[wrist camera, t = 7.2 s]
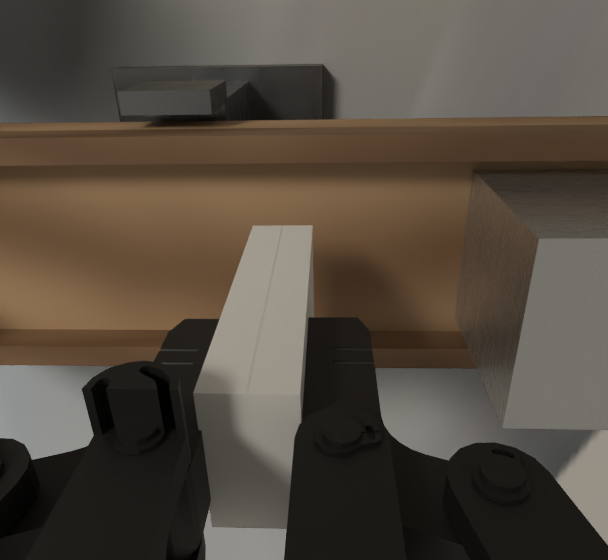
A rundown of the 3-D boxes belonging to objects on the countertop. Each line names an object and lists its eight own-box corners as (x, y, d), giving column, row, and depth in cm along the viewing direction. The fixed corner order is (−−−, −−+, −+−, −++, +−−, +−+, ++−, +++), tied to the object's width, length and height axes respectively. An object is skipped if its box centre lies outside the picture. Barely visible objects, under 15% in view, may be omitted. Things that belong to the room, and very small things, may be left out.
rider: (472, 169, 14) (538, 238, 10) (661, 168, 14) (817, 237, 10) (454, 316, 16) (502, 428, 12) (619, 317, 16) (731, 431, 12)
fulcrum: (119, 67, 21) (10, 92, 14) (322, 64, 20) (319, 88, 13) (152, 273, 25) (81, 375, 18) (323, 273, 24) (320, 378, 17)
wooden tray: (-314, 127, 16) (-433, 147, 13) (718, 115, 15) (799, 134, 12) (-209, 326, 19) (-291, 374, 16) (649, 331, 18) (702, 382, 15)
